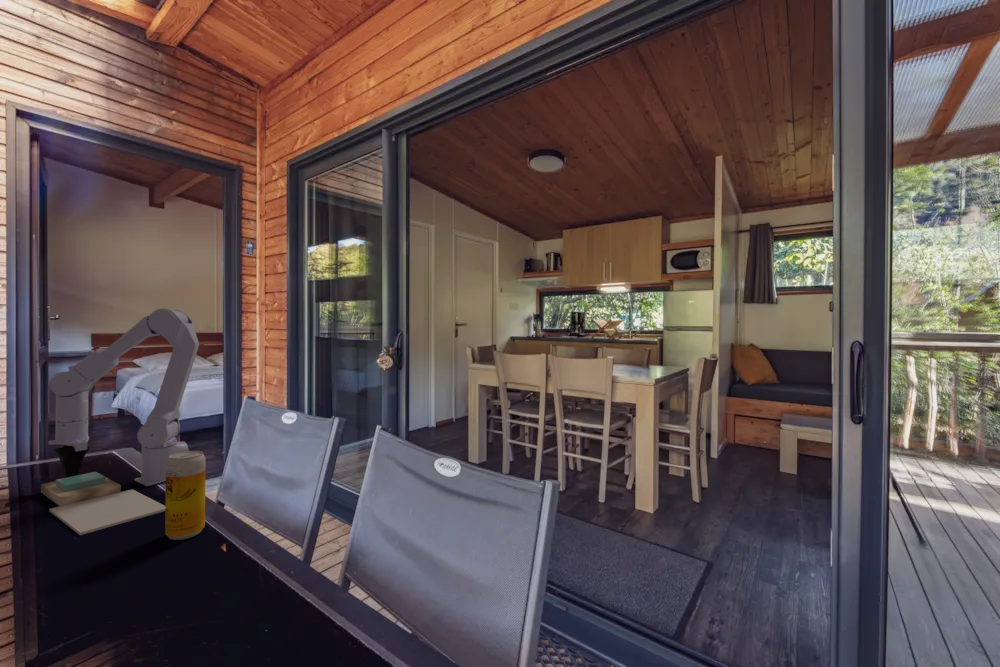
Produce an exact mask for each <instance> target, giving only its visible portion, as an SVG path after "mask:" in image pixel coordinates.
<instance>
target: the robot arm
mask: <svg viewBox="0 0 1000 667" xmlns="http://www.w3.org/2000/svg"><path fill="white" fill-rule="evenodd" d="M158 336H162V337H163V338H165V340H166V341H167V342H168V343H169V344H170V346H171V347H172V348H173V349H172V352H171V356H170V359H169V360H168V364H167V366H166V367H167V368H166V370H165V374H164V377H163V379H162V384H161V385H160V389H159V392H158V394H157V395H158V396H157V398H156V402H155V405H154V407H153V409H152V410H151V412H150V413H149V415H148V416H147V419H146V421H145V423H144V424H143V425H142V426H141V427H140V428H139V429H138V431H137V434H136V437H137V441H138V443H139V444H140V445H141V455H140V456H141V458H140V459H141V462H140V464H141V467H140V468H141V474H140V476H141V477H136V478H134V481H135V482H136V483H139V484H141V485H143V486H145V487H149V486H153V485H158V483H159V484H162V483H161V482H163V481H166V462H167V460H168V458H169V456H170V455H172V454H176V453H180V452H186V451H190V450H189V446H188V444H187V443H186V441H178V440H177V438H176V436H177V435H178V434H179V433H180V430H181V423H180V417H181V411H180V406H181V403H182V401H183V400H182V399H183V397H184V393H185V391H186V388H187V384H188V382H189V378H190V375H191V372H192V368H193V366H194V362H195V359H196V356H197V354H198V353H197V352H198V350H199V347H200V343H199V339H198V336H197V332H196V330H195V327H194V321H193V320H192V318H190V316H189V315H188V314H187V313H186V312H184V311H181V310H177V309H174V310H173V309H169V308H157V309H155V310H154V311H152V312H151V313H150V314H149V315H146V316H145V317H142V319H141V320H139V322H137V323H136V324H135V325H133V326H132V327H131V328H130V329H128V330H127V331H126V332H125V333H123V334H122V335H121V336H120V337H118V338H117V339H116V340H115V341H114V342H113V343H112V344H110V345H109V346H108V347H106V348H97V349H93V350H89V351H87V352H86V353H85V355H86V356H85V357H84V358H83V359H81V360H80V361H78V362H77V363H75V364H70V366H68V367H67V368H68V371H62V372H61V371H60V372H58V373H56V374H55V375H54V377H52V378H51V380H50V383H49V387H50V390H51V391H52V392H53V393H54V395H55V420H54V421H55V429H54V430H55V432H54V433H55V439H54V440H48V444H47V445H50V446H51V445H58V446H59V445H61V447H57V448H54V449H53V451H54V452H55V454H56V456H57V457H58V458H59V461H60V464H61V468H62V472H63V474H64V475H63V476H64V478H67V477H72V476H77V475H80V472H81V467H82V465H83V462H84V458H85V457H86V454H87V453H88V451H90V449H91V448H90V446H89V445H88V441H89V440H90V436H89V392H90V390H92V388H93V387H94V385H95V383H96V382H97V381H99V380H100V379H101V378H102V377H104V376H105V375H106V374H108V373H109V372H111V371H112V370H113V369H115V368H116V367H117V366H118V365H119V363H120V362H119V361H120V360H119V359H120V357H122V356H123V355H124V354H126V353H127V352H129V351H130V350H132V349H133V348H134V347H136V346H138V345H140V344H141V343H142V342H143V341H145V340H146V339H148V338H151V337H158ZM163 483H164V482H163Z"/></svg>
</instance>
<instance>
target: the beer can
mask: <svg viewBox="0 0 1000 667" xmlns="http://www.w3.org/2000/svg"><path fill="white" fill-rule="evenodd" d="M165 506H166V508H165V511H164V513H165V518H164V519H165V522H164V523H165V524H164V525H165V526H164V527H165V529H164V532H165V533H164V534H165V535H166V536H167V537H168V539H169V540H173V541H179V540H185V539H191V538H193V537H195V536H197V535H199V534H200V533H201V532H202V530H203V529H204V528H205V526H206V456H205V455H204V451H202V450H201V451H200V450H189V451H186V452H180V453H176V454H172V455H170V456H169V458H168V460H167V462H166V482H165Z"/></svg>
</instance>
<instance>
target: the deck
mask: <svg viewBox="0 0 1000 667" xmlns="http://www.w3.org/2000/svg"><path fill="white" fill-rule="evenodd" d="M40 487H41V488H40V493H41V494H42V493H43V495H44V496H45V497H47V499H49V500H51V502H52V503H53V502H54V504H55V505H57V506H58V507H60V506H64V505H68V504H72V503H77V502H81V501H85V500H89V499H93V498H98V497H102V496H106V495H110V494H114V493H119V492H122V491H121V490H122V489H121V488H122V485H121V484H120V483H118V482H115V481H114V480H112V479H110V478H108V477H106V483H104V484H100V485H95V486H91V487H86V488H82V489H77V490H72V491H68V492H64V491H63V490H61V489H59V488H58V487H56V480H55V481H50V482H46V483H45V482H44V483H41V485H40Z"/></svg>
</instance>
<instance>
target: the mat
mask: <svg viewBox="0 0 1000 667" xmlns="http://www.w3.org/2000/svg"><path fill="white" fill-rule="evenodd" d="M165 508H166V505H164V504H162V503H160V502H159V501H157V500H154V499H153V498H150V497H148V496H146V495H144V494H143V493H140V492H138V491H136V490H135V489H133V488H131V489H128V490H124V491H121V492H119V493H114V494H110V495H106V496H102V497H98V498H93V499H89V500H85V501H81V502H77V503H72V504H68V505H64V506H56V507H52V508H49V511H48V512H50V513H51V514H52V516H54V517H56V518H57V519H59V520H60V521H61V522H62V523H64V524H65V525H66V526H68V528H70V529H71V530H72V531H74V532H75V533H76V534H78V535H79V536H83V535H85V534H90V533H94V532H97V531H100V530H103V529H106V528H110V527H114V526H117V525H121V524H125V523H127V522H132V521H134V520H135V521H136V520H138V519H142V518H146V517H149V516H153V515H157V514H160V513H163V512H165Z"/></svg>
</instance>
